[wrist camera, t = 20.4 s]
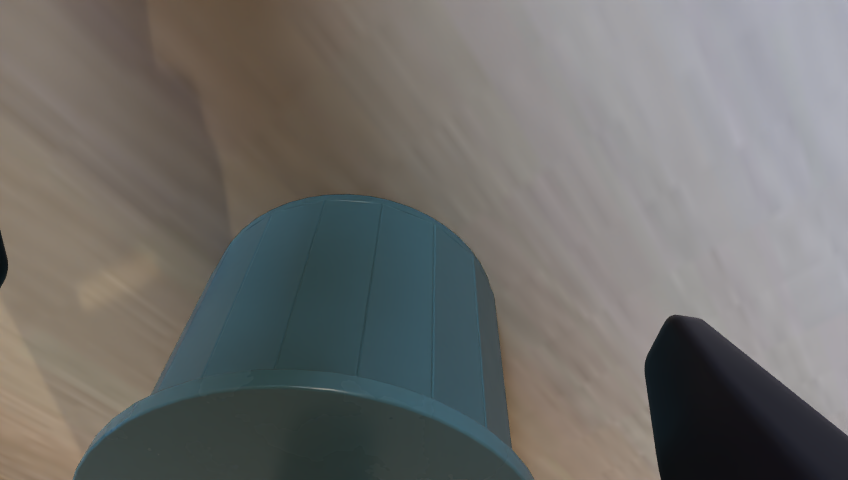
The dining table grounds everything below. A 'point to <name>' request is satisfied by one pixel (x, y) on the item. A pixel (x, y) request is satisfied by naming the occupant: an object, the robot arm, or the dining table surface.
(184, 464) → the tin lid
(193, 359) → the tin
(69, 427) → the dining table surface
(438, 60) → the dining table surface
